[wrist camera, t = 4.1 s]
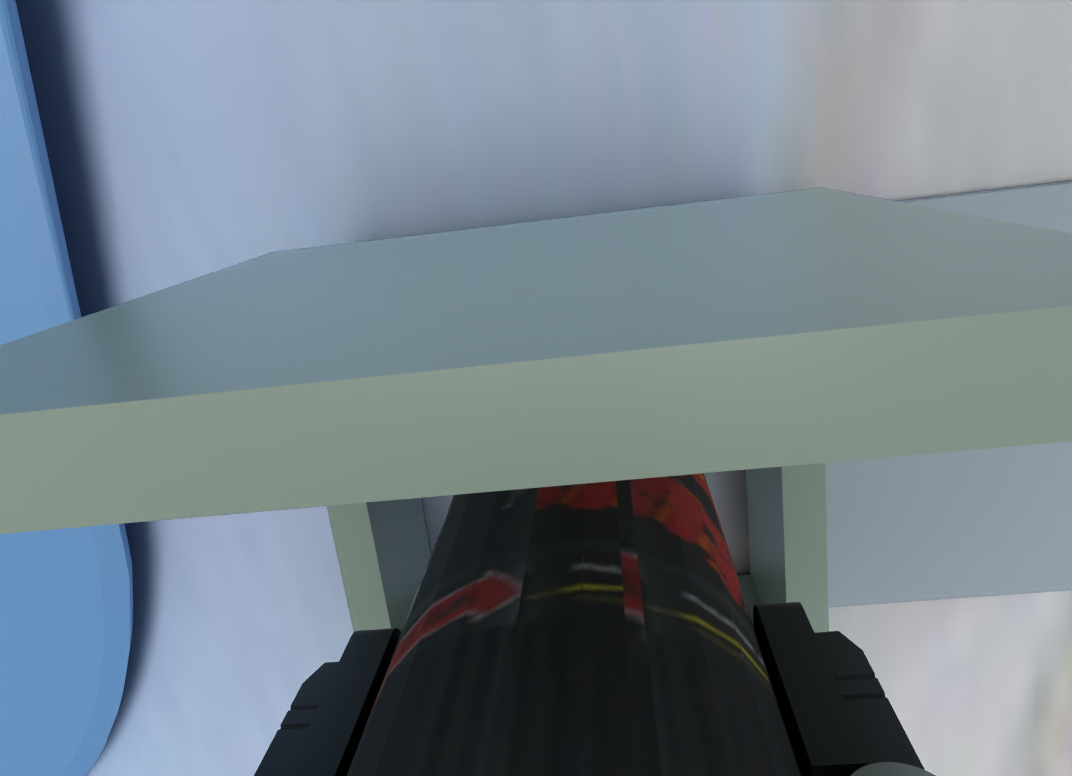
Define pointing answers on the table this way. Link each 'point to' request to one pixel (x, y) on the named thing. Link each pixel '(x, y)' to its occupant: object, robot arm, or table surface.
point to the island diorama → (61, 554)
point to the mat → (957, 488)
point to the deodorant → (579, 644)
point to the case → (549, 375)
